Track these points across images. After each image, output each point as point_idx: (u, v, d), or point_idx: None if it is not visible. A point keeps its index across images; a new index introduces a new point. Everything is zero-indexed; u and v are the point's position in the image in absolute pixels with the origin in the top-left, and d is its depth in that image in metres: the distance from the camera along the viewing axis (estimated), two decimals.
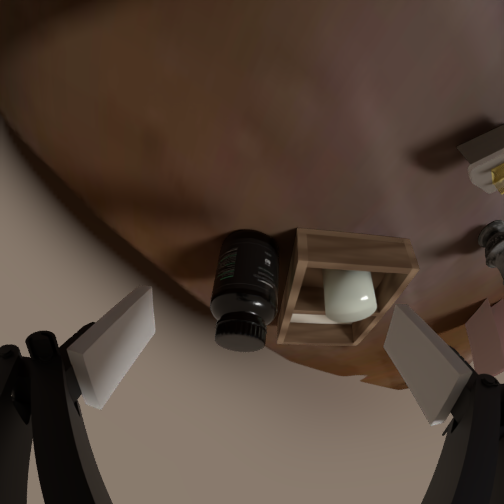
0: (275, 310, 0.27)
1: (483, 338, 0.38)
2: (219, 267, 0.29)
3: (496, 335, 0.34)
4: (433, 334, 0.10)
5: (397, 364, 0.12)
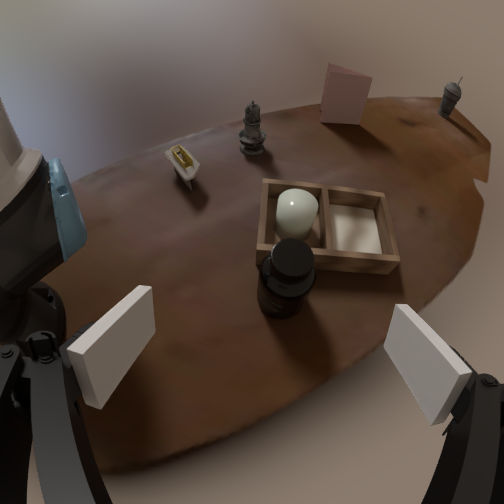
0: None
1: (344, 102, 0.58)
2: (268, 304, 0.34)
3: (328, 95, 0.56)
4: (433, 334, 0.10)
5: (397, 364, 0.12)
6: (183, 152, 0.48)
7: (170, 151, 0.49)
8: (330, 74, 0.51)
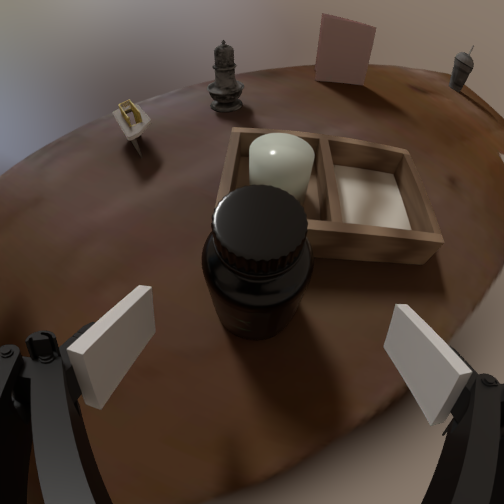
0: None
1: (344, 56, 0.42)
2: (226, 317, 0.18)
3: (324, 47, 0.40)
4: (433, 334, 0.10)
5: (397, 364, 0.12)
6: (133, 108, 0.32)
7: (119, 110, 0.33)
8: (324, 20, 0.35)
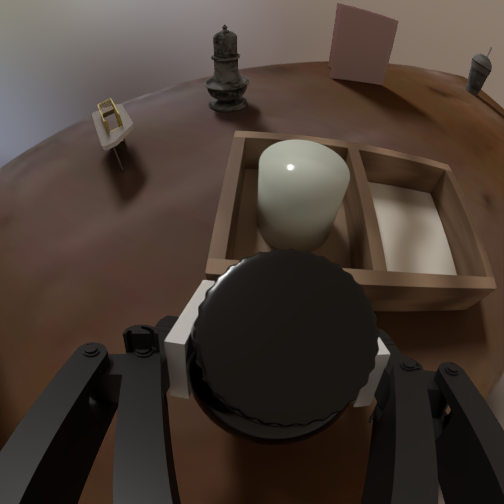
0: None
1: (362, 51, 0.35)
2: None
3: (340, 40, 0.34)
4: None
5: None
6: (114, 109, 0.25)
7: (100, 111, 0.26)
8: (342, 10, 0.28)
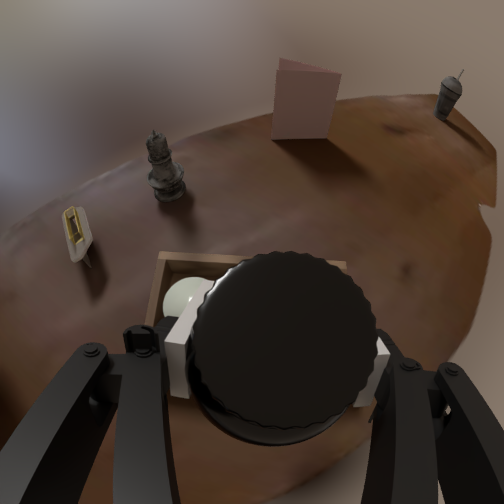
0: None
1: (303, 111, 0.44)
2: None
3: (278, 103, 0.42)
4: None
5: None
6: (77, 217, 0.33)
7: (67, 213, 0.34)
8: (278, 73, 0.37)
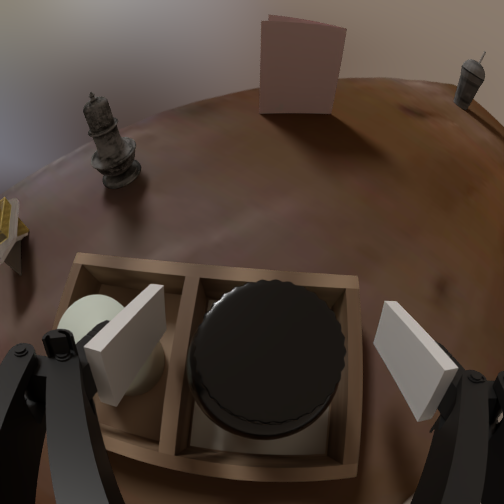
0: None
1: (299, 76, 0.32)
2: None
3: (266, 65, 0.30)
4: (420, 330, 0.10)
5: (386, 360, 0.12)
6: (6, 211, 0.21)
7: (3, 206, 0.23)
8: (263, 25, 0.25)
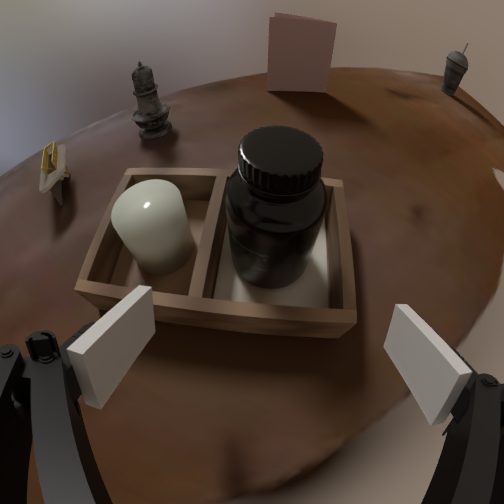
0: None
1: (299, 60, 0.39)
2: (244, 256, 0.20)
3: (273, 51, 0.37)
4: (433, 334, 0.10)
5: (397, 364, 0.12)
6: (55, 152, 0.28)
7: (49, 151, 0.29)
8: (271, 21, 0.32)
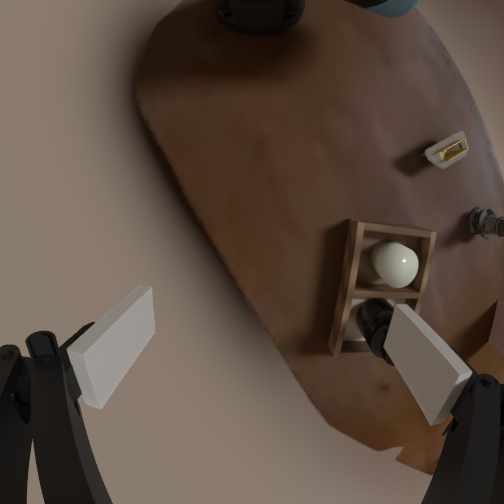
0: None
1: None
2: (369, 316, 0.38)
3: None
4: (433, 334, 0.10)
5: (397, 364, 0.12)
6: (459, 152, 0.31)
7: (462, 137, 0.31)
8: None
